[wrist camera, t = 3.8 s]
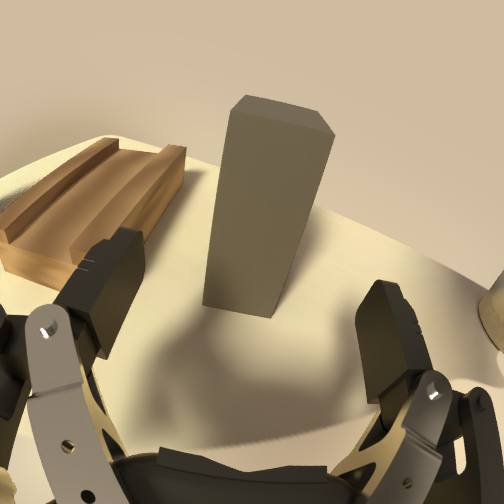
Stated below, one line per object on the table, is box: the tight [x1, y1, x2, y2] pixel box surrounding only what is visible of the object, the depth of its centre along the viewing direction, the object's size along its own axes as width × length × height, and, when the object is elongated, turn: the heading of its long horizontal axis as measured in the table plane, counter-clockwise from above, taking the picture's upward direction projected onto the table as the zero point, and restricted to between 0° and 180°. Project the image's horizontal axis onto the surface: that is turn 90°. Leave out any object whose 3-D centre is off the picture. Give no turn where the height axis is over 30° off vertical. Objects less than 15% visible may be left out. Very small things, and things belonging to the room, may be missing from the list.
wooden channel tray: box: [0, 137, 186, 291], centre depth 22 cm, size 10×18×4 cm, turn 175°
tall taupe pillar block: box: [202, 95, 335, 318], centre depth 17 cm, size 5×6×12 cm
